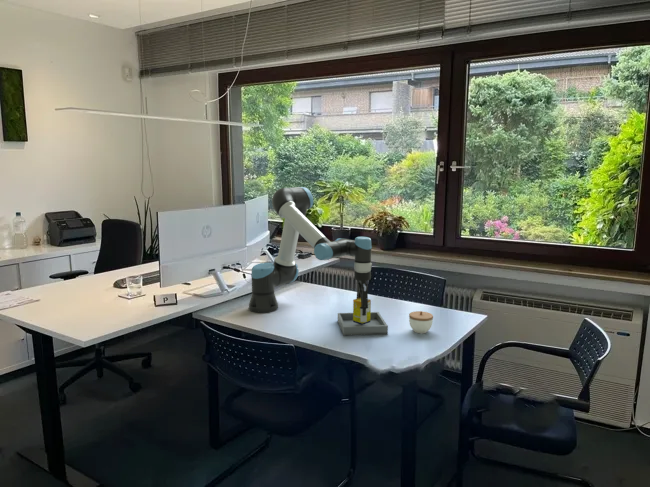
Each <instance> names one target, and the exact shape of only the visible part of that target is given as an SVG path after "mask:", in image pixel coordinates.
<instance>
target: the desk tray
mask: <svg viewBox="0 0 650 487" xmlns="http://www.w3.org/2000/svg"><path fill="white" fill-rule="evenodd" d="M337 323H338V326H339V328H340V331H341V334H342V336H343V337H352V336H353V337H354V336H383V335H386V336H387V335H388V334H389V333H388V331H389V325H388V323H387V322H386V321H385V319H384V318H383V316H382V315H381V314H380V312H379V311H373V312H372V311H371V317H370V322H369V323H366V324H363V325H361V324H358V323H354V322H353V312H338V313H337Z"/></svg>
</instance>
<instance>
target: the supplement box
mask: <svg viewBox="0 0 650 487" xmlns="http://www.w3.org/2000/svg"><path fill="white" fill-rule="evenodd" d="M371 300H372V299H369V298H368V308H367V322H360V317H361V309H360V307H361V298H358V299H357V298H355V299H353V300H352V307H353V308H352V310H353V311H352V313H353V322H354V323H358V324H361V325H363V324H366V323H369V322H370V317H371V312H372V311H371V308H372V306H371V305H372V304H371V302H372V301H371Z"/></svg>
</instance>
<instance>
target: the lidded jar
mask: <svg viewBox="0 0 650 487" xmlns="http://www.w3.org/2000/svg"><path fill="white" fill-rule="evenodd" d="M408 314H409V315H408V317H409V318H408V319H409V320H408V321H409V326H410V328H411V329H412V331H413V332H414V333H416V334H426V333H428V331H430V330H431V328H432V325H433V322H434V321H433V319H434V315H433V314H432V313H431V312H427V311H423V310H420V311H417V310H416V311H412V312H410V313H408Z"/></svg>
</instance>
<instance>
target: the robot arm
mask: <svg viewBox="0 0 650 487" xmlns="http://www.w3.org/2000/svg"><path fill="white" fill-rule="evenodd" d="M271 204H272V208H273V210H274V211H275V213H276V214H277V215H278V216H279V217H280V218H282V219H284V222H283V227H282V228H283V229H282V233H281V239H280V244H279V248H278V253H277V254H278V255H277V256H276V257H274V259H273V263H272V262H260V263H257V264H254V265H253V267H251V275H250V276H251V297H250V300H249V303H248V310H249V311H250V312H253V313H257V314H259V313H260V314H261V313H262V314H266V313H273V312H275V311H277V310H278V309H279V303H278V300H277V297H276V295H275V294H276V293H275V287H279V286H282V285H288V284H291V283H294V282H295V281H296V280H297V278H298V276H299V270H300V269H299V266H298V264H297V261H296V260H295V256H296V250H297V246H298V241H299V240H298V239H299V237H300V236H301V237H302V238H304V240H305V241H306V242H307V243H308V244H309V245H310V246H311V247H312V248H313V249H314V250H313V253H314V256H315V259H317V260H319V261H327V260H328V261H329V260H331V259H335V258H340V257H346V256H348V257H352V258H354V261H353V262H354V264H353V265H354V267H353V268H354V276H353V277H354V278H353V279H355V280H356V284H357V286H356V299H358V298H361V307H360V309H361V317H360V322H367V308H368V299H369V297H368V296H369V293H368V292H369V291H368V290H369V285H368V283H367V281H370V280H371V278H372V277H371V276H372V272H371V270H372V266H373V263H372V249H373V246H372V239H371V238H370V237H368V236H357V237H355V238H354V239H349V238H336V239H335V240H334V241H330V239H328V238H327V237H326V236H325V235H324V234H323V232H322V231H320V230H319V229H318V228H317V226H315V224H314V223H312V221H311V220H309V219H308V218H307V217H306V215H307V211H308V210H309V209H311V208H312V206H313V205H314V197H313V194H312V192H311V190H310V189H309V188H307V187H305V186H294V187H292V186H291V187H280V188H278V189H277V190H276V191H275V192H273V195H272V198H271ZM299 235H300V236H299Z"/></svg>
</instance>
